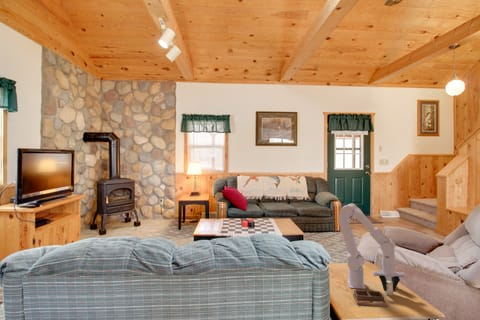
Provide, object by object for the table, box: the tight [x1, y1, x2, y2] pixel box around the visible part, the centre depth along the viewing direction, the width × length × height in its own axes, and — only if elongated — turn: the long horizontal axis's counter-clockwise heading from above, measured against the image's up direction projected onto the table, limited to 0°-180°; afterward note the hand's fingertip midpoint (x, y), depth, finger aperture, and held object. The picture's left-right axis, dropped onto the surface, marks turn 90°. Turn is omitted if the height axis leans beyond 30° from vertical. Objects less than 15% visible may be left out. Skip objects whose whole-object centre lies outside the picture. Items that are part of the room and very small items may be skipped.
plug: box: [384, 281, 394, 296], centre depth 143 cm, size 4×4×6 cm
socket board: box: [352, 289, 388, 307], centre depth 136 cm, size 9×13×3 cm
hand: (389, 290), depth 143 cm, fingers closed on plug, 4 cm apart
